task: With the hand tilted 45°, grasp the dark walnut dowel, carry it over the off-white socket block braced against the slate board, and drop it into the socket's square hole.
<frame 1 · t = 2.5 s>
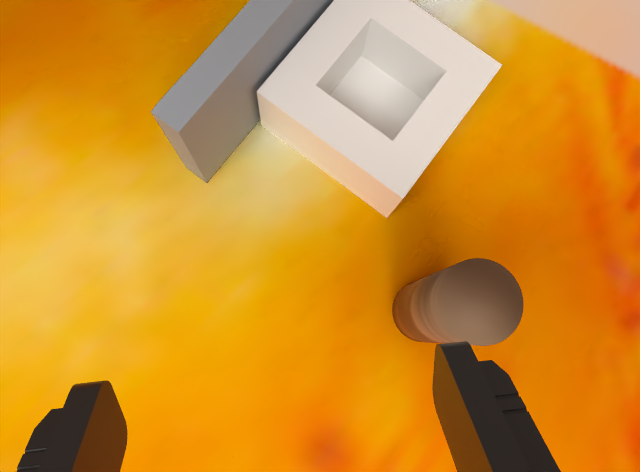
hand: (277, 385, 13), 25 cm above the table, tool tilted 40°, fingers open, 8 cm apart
backstop: (278, 78, 41), on the table
socket: (368, 114, 41), on the table
dowel: (422, 311, 38), on the table
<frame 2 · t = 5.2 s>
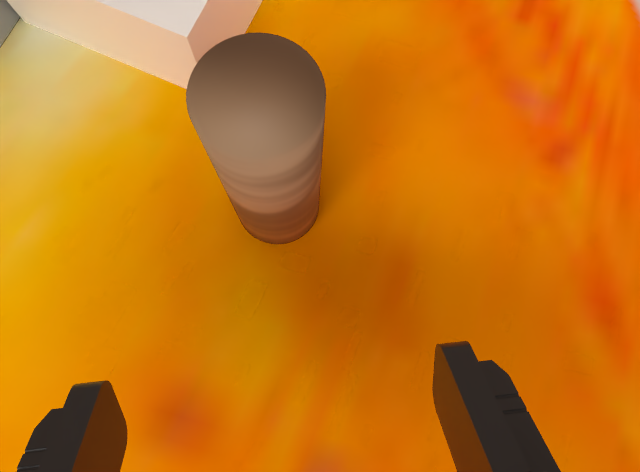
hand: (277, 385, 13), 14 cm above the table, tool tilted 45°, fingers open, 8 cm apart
dowel: (278, 204, 28), on the table
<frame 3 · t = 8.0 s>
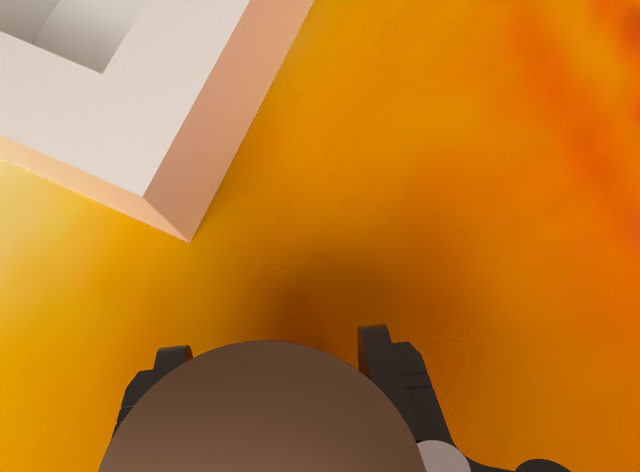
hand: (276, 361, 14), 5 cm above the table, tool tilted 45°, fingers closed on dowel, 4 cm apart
socket: (128, 59, 22), on the table
dowel: (290, 416, 18), on the table, touching gripper
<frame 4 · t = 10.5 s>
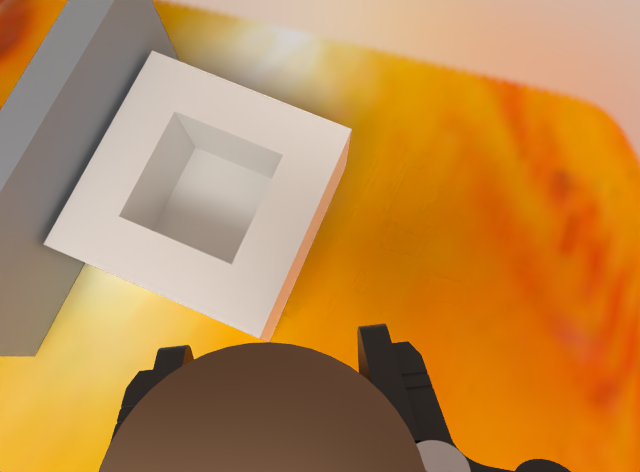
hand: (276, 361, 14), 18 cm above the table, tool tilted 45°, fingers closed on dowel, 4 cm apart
backstop: (100, 200, 33), on the table
socket: (222, 215, 33), on the table
dowel: (291, 417, 18), point 12 cm above the table, touching gripper
when the fingers open (14 cm above the table, at t = 12.8 s): dowel drops 7 cm, resting on socket.
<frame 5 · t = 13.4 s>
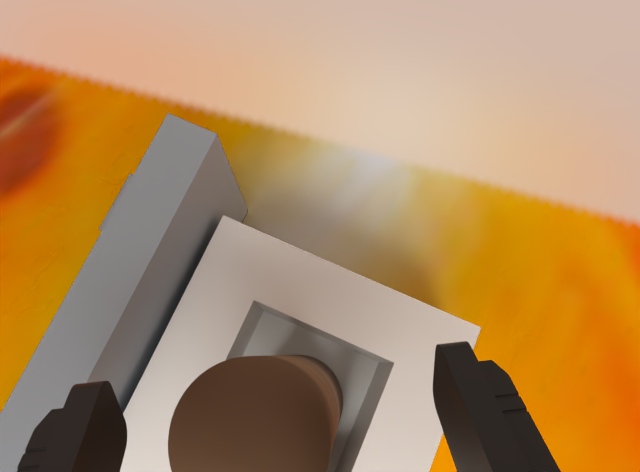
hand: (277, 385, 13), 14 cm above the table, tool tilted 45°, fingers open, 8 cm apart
backstop: (145, 374, 26), on the table
socket: (295, 394, 27), on the table, touching dowel
dowel: (298, 400, 26), point 1 cm above the table, tilted 5°, touching socket
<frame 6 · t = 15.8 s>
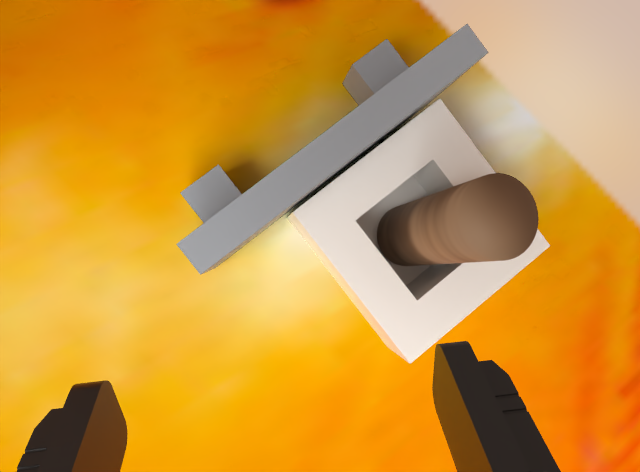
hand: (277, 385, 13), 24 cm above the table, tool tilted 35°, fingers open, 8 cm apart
backstop: (317, 171, 38), on the table
socket: (399, 232, 39), on the table, touching dowel
dowel: (405, 235, 38), point 1 cm above the table, tilted 7°, touching socket
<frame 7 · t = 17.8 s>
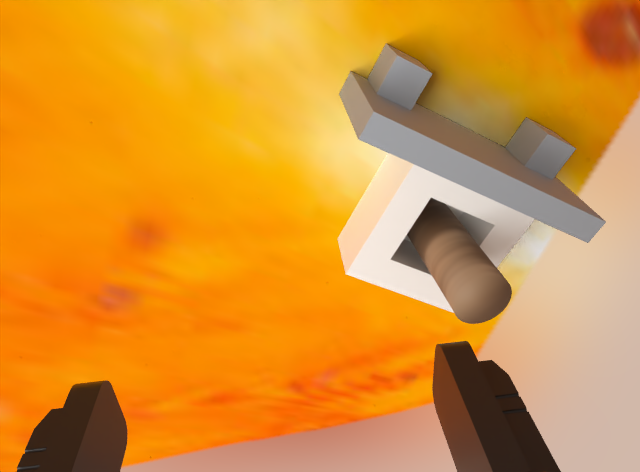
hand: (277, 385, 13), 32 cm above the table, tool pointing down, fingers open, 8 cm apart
backstop: (447, 132, 44), on the table
socket: (423, 208, 48), on the table, touching dowel
dowel: (424, 216, 48), point 1 cm above the table, tilted 6°, touching socket
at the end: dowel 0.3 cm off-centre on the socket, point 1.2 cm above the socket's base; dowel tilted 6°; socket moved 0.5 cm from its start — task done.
